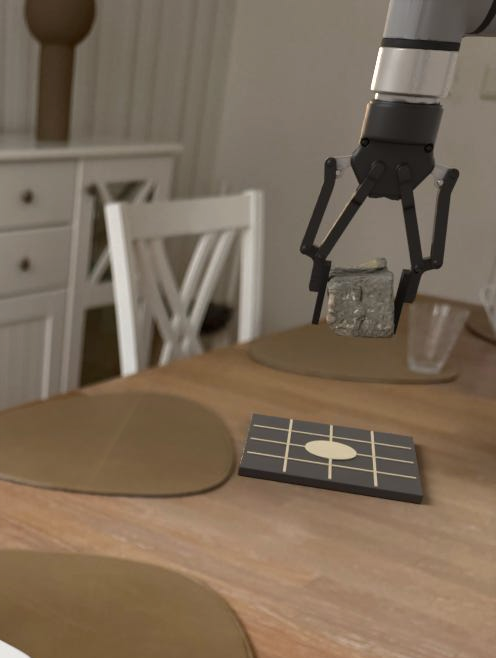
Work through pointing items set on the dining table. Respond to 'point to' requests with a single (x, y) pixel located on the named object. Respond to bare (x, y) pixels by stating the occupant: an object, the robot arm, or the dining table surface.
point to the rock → (361, 300)
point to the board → (332, 458)
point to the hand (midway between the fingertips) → (353, 326)
